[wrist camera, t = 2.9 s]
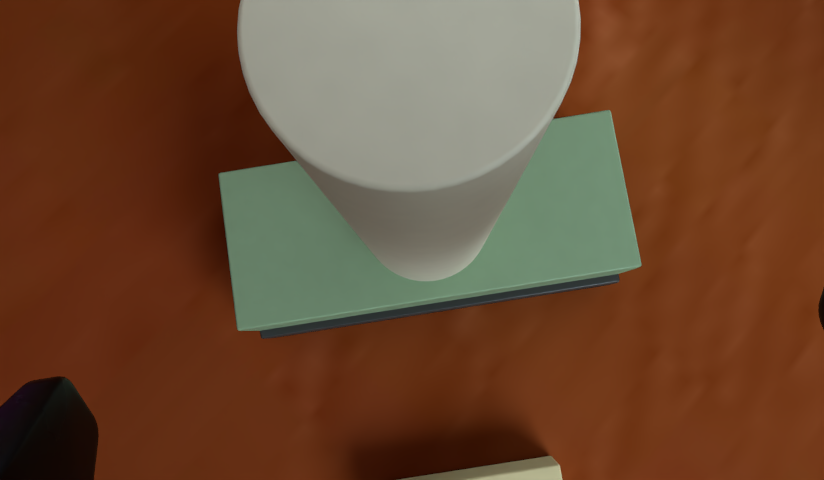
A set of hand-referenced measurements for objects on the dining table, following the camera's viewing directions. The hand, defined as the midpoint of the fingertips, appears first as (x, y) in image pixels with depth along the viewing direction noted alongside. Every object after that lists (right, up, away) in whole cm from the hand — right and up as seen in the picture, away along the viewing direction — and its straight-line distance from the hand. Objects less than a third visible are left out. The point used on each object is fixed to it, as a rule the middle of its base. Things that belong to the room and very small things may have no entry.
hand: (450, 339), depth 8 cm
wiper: (0, +1, +10) cm, 10 cm away
